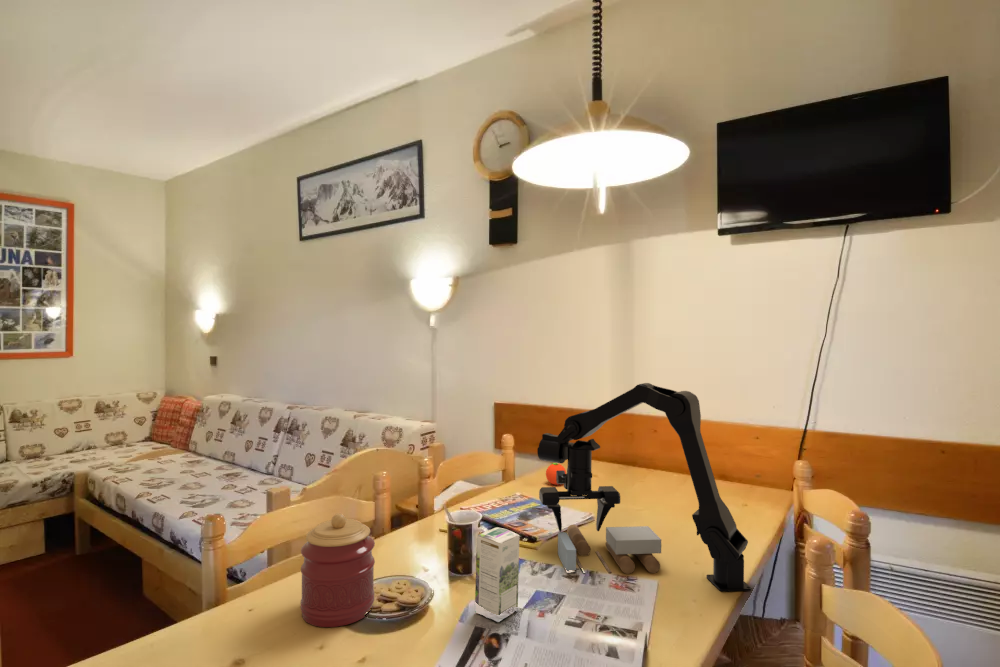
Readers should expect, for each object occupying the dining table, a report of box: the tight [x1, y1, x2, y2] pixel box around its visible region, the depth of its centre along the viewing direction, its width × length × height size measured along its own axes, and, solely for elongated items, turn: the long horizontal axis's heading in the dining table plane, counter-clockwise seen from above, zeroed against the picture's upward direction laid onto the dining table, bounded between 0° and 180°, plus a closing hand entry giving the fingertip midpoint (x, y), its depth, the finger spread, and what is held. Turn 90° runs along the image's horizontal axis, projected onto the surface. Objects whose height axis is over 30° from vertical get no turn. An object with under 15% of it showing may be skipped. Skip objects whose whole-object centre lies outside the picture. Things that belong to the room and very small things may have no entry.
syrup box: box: [474, 526, 520, 615], centre depth 99 cm, size 6×6×14 cm
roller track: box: [576, 540, 661, 575], centre depth 121 cm, size 12×17×3 cm
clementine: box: [545, 462, 567, 486], centre depth 182 cm, size 8×7×7 cm
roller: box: [566, 524, 591, 556], centre depth 130 cm, size 12×3×3 cm, turn 5°
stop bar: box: [557, 531, 577, 571], centre depth 120 cm, size 10×2×5 cm, turn 5°
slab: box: [605, 525, 662, 555], centre depth 121 cm, size 8×10×3 cm
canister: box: [300, 512, 376, 628], centre depth 99 cm, size 13×13×18 cm
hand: (579, 531), depth 130 cm, fingers open, 9 cm apart
